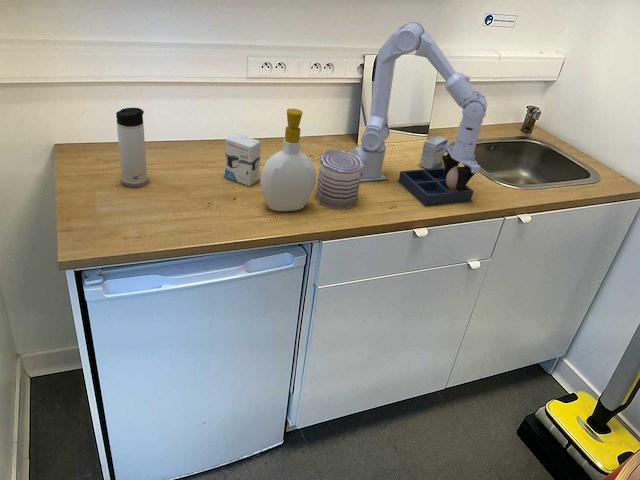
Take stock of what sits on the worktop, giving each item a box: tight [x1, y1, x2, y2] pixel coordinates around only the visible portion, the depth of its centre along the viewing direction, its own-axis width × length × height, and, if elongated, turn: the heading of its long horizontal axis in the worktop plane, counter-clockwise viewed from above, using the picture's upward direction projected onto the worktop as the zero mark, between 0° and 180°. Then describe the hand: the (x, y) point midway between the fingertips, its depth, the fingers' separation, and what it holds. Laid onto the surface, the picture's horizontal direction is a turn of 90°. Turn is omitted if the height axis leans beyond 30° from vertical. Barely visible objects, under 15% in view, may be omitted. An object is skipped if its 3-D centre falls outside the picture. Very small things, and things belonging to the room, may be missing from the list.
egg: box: [446, 165, 461, 191], centre depth 155 cm, size 5×5×7 cm
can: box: [315, 149, 364, 210], centre depth 145 cm, size 11×11×12 cm
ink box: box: [224, 133, 262, 187], centre depth 149 cm, size 8×5×12 cm, turn 62°
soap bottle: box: [259, 108, 317, 212], centre depth 135 cm, size 14×9×26 cm, turn 108°
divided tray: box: [398, 167, 475, 207], centre depth 158 cm, size 15×15×3 cm
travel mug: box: [115, 107, 148, 188], centre depth 138 cm, size 6×7×20 cm
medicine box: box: [419, 135, 449, 169], centre depth 172 cm, size 8×4×9 cm, turn 143°
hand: (454, 184), depth 156 cm, fingers closed on egg, 5 cm apart
